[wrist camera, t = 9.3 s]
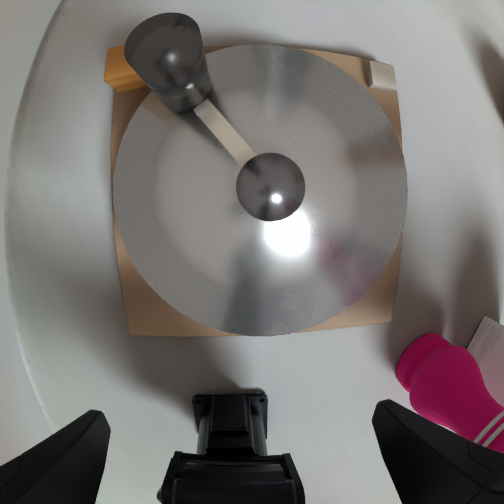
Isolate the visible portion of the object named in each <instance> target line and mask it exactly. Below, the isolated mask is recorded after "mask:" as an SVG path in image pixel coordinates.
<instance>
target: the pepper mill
mask: <svg viewBox="0 0 504 504" xmlns="http://www.w3.org/2000/svg"><path fill="white" fill-rule="evenodd" d="M396 374H397V379H398V381H399V382H400V383H401V385H402V386H403V387H404V388H405V390H406V391H408V392H410V395H409V397H410V403H411V405H412V407H413V409H414V410H415V411H416V412H417V413H418V414H419V415H421V416H422V417H424V418H426V419H428V420H430V421H432V422H434V423H437V424H440V425H443V426H445V427H448V428H450V429H451V430H453V431H454V432H456V433H457V434H458V435H460V436H462V437H464V438H466V439H467V440H471V441H473V442H475V443H477V444H480V445H482V446H484V447H487V448H490V449H493V450H496V451H499V452H502V453H504V407H503V406H501V405H500V404H499V403H497V402H496V401H495V399H494V398H493V397H492V396H491V395H490V393H489V392H488V390H487V388H486V386H485V383H484V381H483V377H482V374H481V371H480V368H479V366H478V363H477V362H476V360H475V358H474V357H473V356H472V355H471V354H470V353H469V352H468V351H467V350H466V349H465V348H463V347H460V346H451V344H450V343H449V342H448V341H447V340H445V339H444V338H443V337H442V336H440V335H439V334H436V333H430V334H426V335H424V336H422V337H420V338H418V339H417V340H416V341H414V342H413V343H412V344H411V345H410V346H409V347H408V348H407V349H406V351H405V352H404V354H403V355H402V357H401V358H400V361H399V363H398V366H397V372H396Z"/></svg>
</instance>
